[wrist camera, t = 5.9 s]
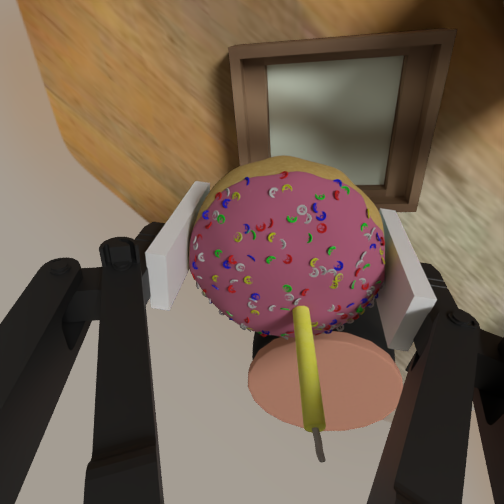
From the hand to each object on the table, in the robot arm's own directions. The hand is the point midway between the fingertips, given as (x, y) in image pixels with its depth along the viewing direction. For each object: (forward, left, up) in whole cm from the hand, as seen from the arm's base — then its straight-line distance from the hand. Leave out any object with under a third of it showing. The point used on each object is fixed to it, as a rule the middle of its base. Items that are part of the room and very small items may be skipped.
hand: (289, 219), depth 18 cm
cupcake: (0, 0, -1) cm, 1 cm away
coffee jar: (+13, +2, -17) cm, 21 cm away
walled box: (0, +3, -17) cm, 17 cm away
